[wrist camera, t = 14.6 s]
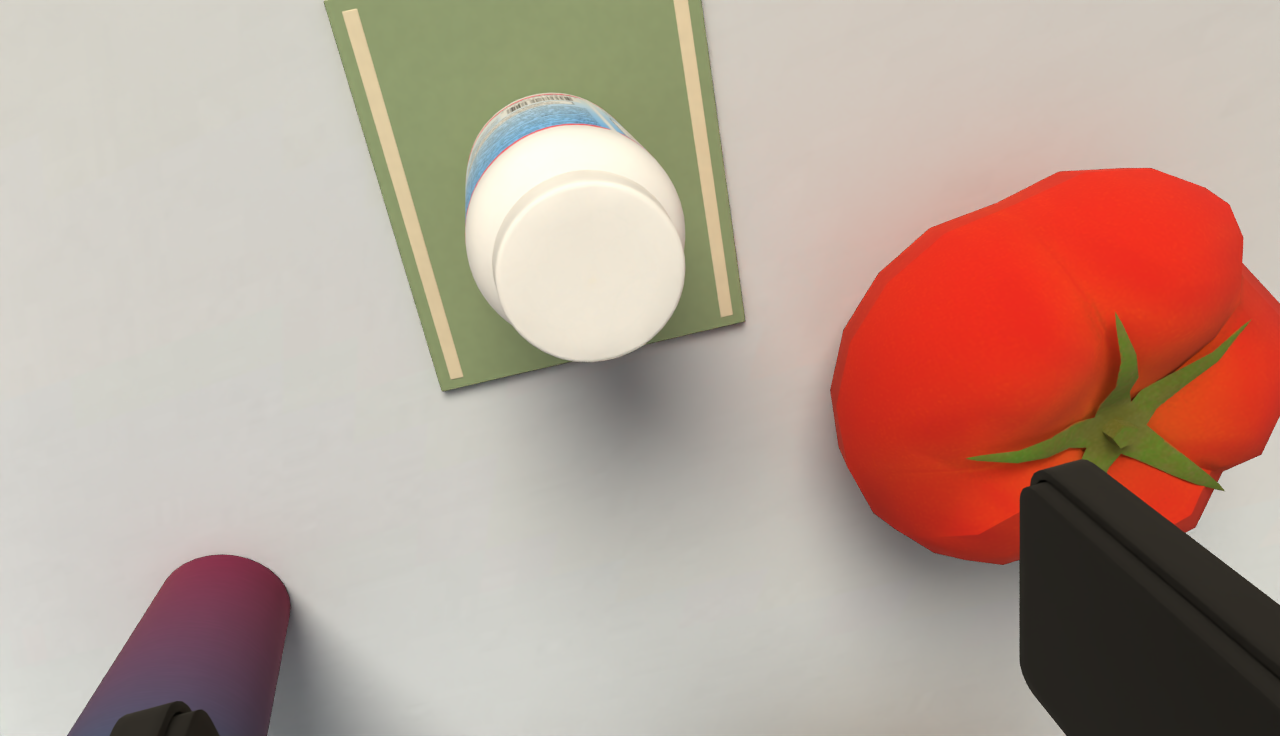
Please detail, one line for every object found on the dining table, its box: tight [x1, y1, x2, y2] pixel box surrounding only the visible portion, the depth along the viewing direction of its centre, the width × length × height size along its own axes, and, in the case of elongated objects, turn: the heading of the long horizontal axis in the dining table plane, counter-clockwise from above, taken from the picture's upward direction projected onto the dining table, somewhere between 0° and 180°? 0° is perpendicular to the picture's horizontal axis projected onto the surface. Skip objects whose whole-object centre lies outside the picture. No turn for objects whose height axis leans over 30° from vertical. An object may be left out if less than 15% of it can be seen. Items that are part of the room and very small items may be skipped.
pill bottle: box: [465, 93, 685, 362], centre depth 27 cm, size 6×6×11 cm
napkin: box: [324, 0, 745, 391], centre depth 32 cm, size 14×12×1 cm
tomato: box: [830, 168, 1280, 565], centre depth 33 cm, size 14×16×10 cm
